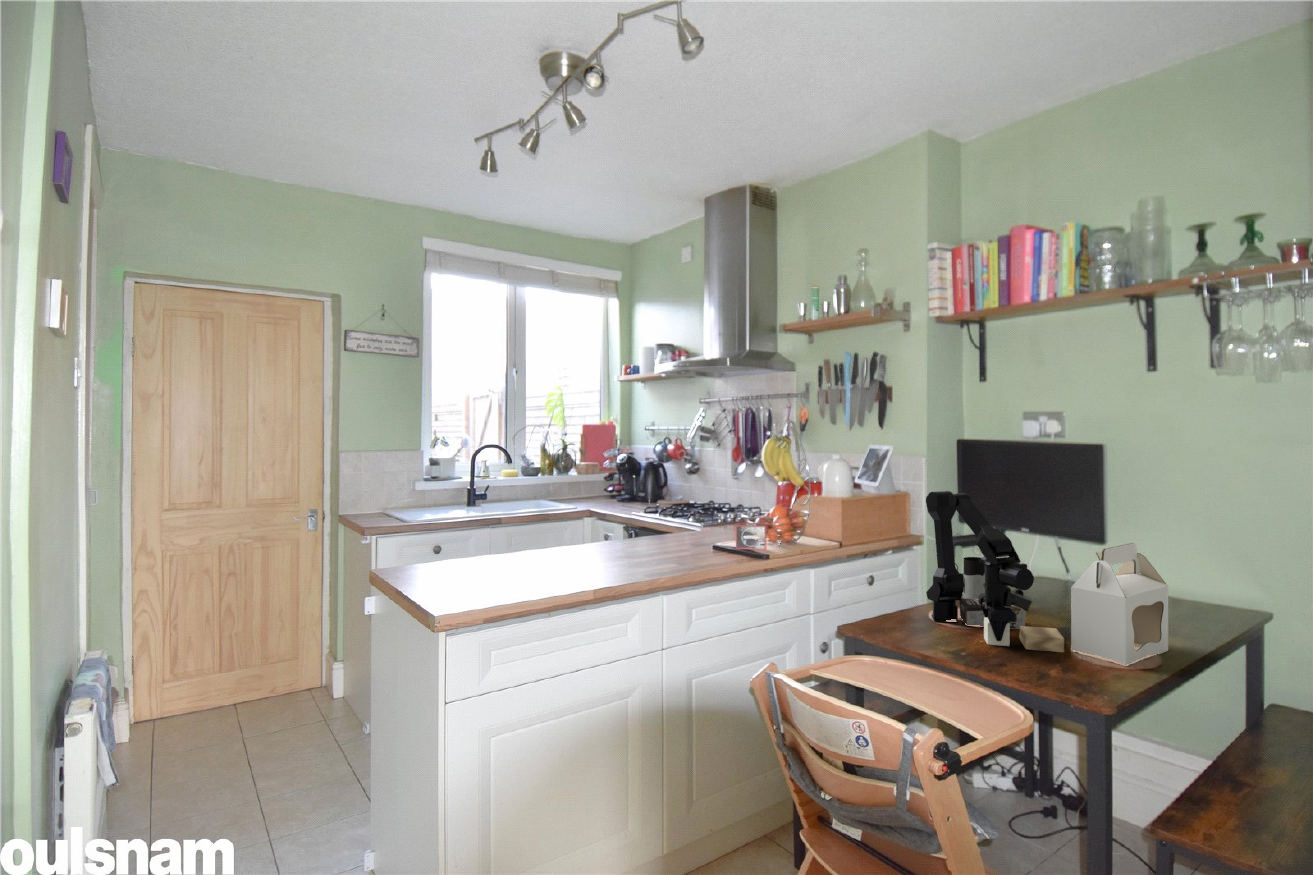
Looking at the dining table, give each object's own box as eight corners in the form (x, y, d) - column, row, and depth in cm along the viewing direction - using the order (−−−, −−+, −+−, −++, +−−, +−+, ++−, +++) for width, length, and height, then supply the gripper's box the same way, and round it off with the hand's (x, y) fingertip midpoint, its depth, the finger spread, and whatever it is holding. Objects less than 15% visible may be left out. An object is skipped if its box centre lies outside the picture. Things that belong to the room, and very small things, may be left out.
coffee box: (1025, 608, 194) (966, 606, 198) (1025, 630, 195) (966, 627, 198) (1015, 599, 203) (958, 597, 207) (1015, 620, 204) (958, 617, 207)
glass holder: (991, 608, 218) (991, 562, 217) (944, 604, 223) (943, 559, 223) (989, 601, 226) (989, 557, 225) (943, 597, 231) (943, 554, 231)
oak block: (1025, 650, 179) (1025, 635, 179) (1019, 639, 187) (1019, 625, 187) (1064, 653, 176) (1064, 638, 176) (1056, 642, 184) (1055, 628, 184)
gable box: (1114, 637, 187) (1114, 538, 187) (1169, 651, 176) (1169, 545, 175) (1070, 652, 176) (1070, 546, 176) (1125, 667, 165) (1125, 554, 164)
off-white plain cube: (987, 644, 183) (987, 622, 183) (984, 638, 188) (983, 617, 188) (1009, 646, 181) (1009, 624, 181) (1005, 639, 187) (1005, 618, 186)
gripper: (1038, 591, 173) (1038, 651, 173) (1020, 575, 191) (1020, 629, 191) (991, 589, 176) (991, 648, 177) (977, 573, 194) (978, 627, 194)
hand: (996, 637), depth 185 cm, fingers closed on off-white plain cube, 5 cm apart
